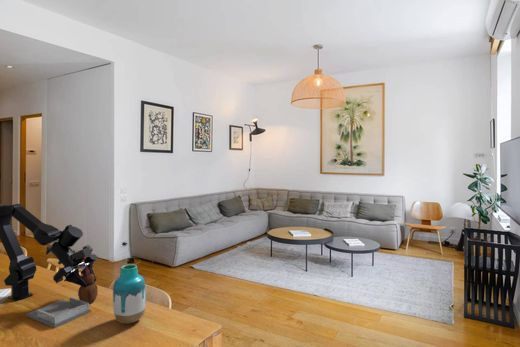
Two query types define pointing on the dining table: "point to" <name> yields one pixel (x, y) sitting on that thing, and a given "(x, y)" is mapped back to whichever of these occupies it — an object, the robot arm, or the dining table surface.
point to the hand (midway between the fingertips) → (91, 283)
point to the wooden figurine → (88, 288)
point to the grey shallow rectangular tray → (60, 312)
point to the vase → (129, 295)
